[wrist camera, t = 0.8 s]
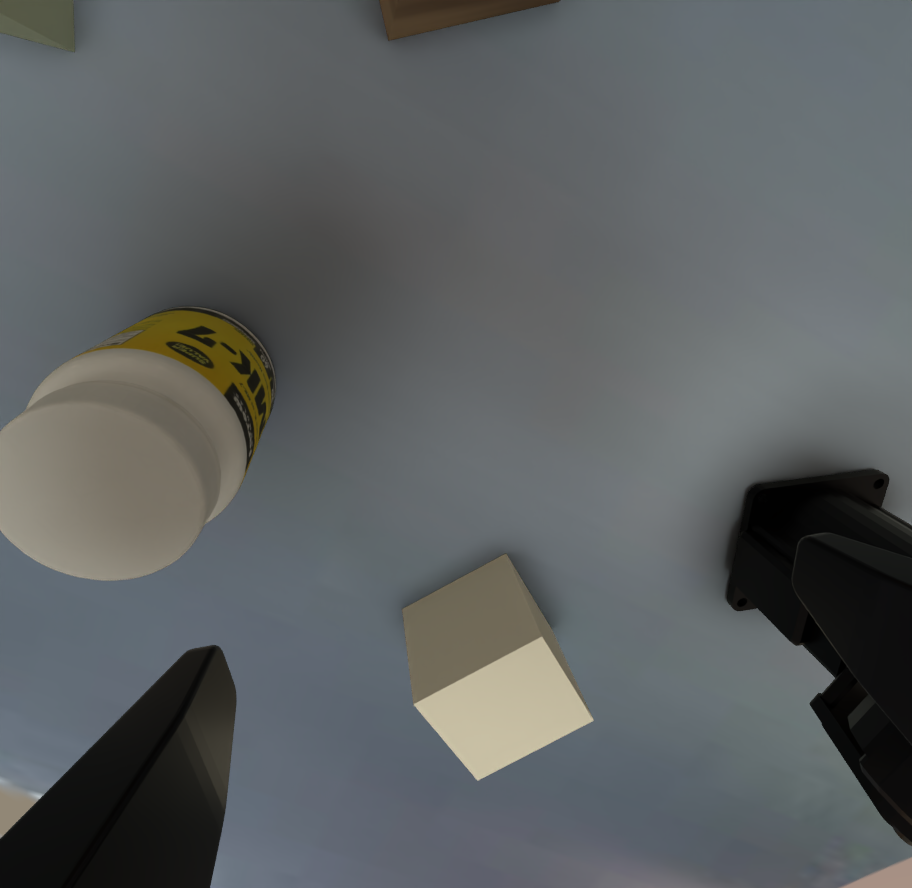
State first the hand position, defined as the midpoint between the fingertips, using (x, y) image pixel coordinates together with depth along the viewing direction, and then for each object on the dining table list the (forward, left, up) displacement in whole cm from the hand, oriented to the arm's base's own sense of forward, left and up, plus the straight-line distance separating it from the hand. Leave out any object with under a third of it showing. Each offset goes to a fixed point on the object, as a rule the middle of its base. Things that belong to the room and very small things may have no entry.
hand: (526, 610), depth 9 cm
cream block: (-2, +11, -13) cm, 17 cm away
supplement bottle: (+7, -1, -13) cm, 15 cm away
